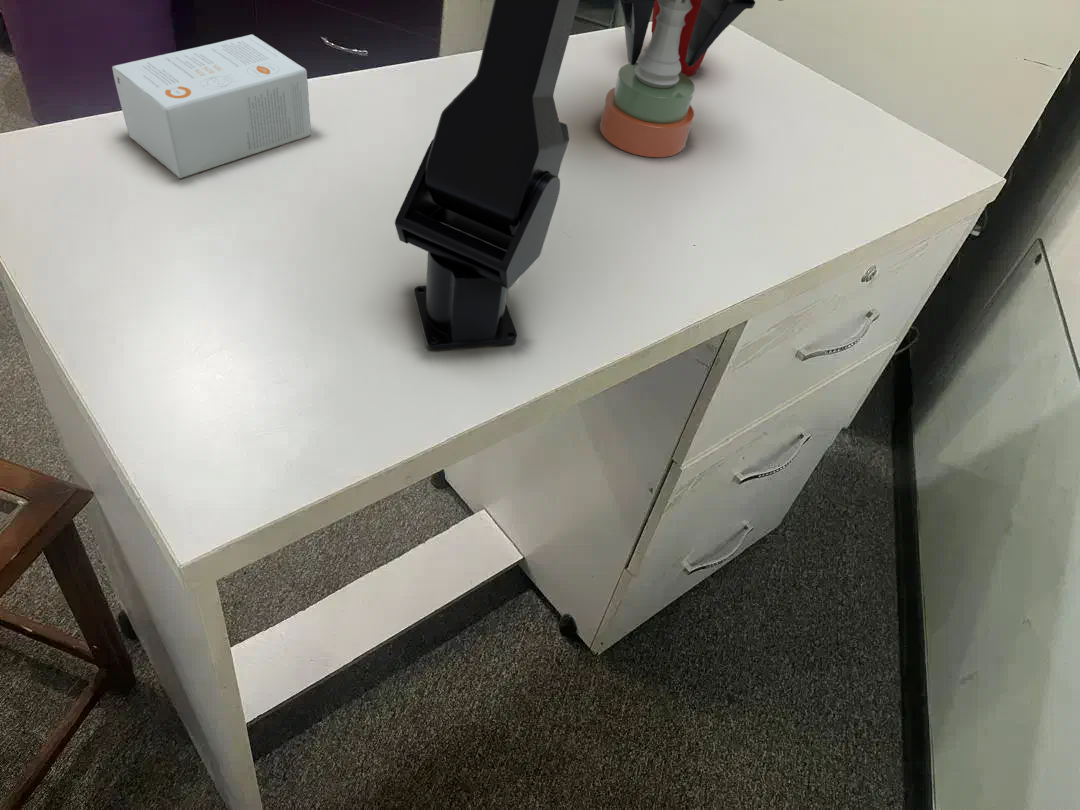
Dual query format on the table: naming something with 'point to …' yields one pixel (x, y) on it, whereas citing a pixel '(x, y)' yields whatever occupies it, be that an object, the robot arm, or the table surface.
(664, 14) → the rook chess piece
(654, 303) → the table surface
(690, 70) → the plastic cup
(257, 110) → the small box
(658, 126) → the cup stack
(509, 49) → the robot arm
